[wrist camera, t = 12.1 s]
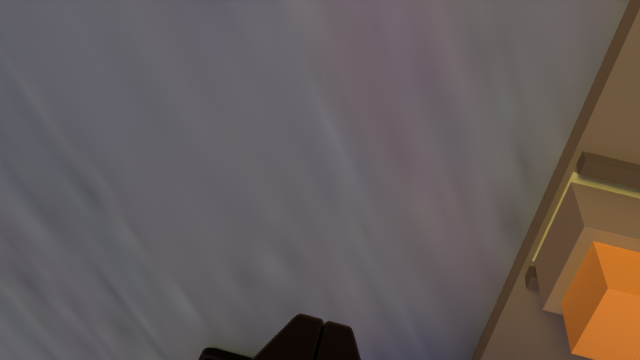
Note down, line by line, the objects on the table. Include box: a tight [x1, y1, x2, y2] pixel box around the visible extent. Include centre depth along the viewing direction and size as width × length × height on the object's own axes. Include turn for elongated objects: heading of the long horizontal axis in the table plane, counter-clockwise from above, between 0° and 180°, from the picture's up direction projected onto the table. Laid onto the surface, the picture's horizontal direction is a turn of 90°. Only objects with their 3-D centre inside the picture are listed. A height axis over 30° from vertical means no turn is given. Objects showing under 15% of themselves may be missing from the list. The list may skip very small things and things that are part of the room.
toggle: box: [534, 182, 640, 360], centre depth 18 cm, size 3×3×4 cm
